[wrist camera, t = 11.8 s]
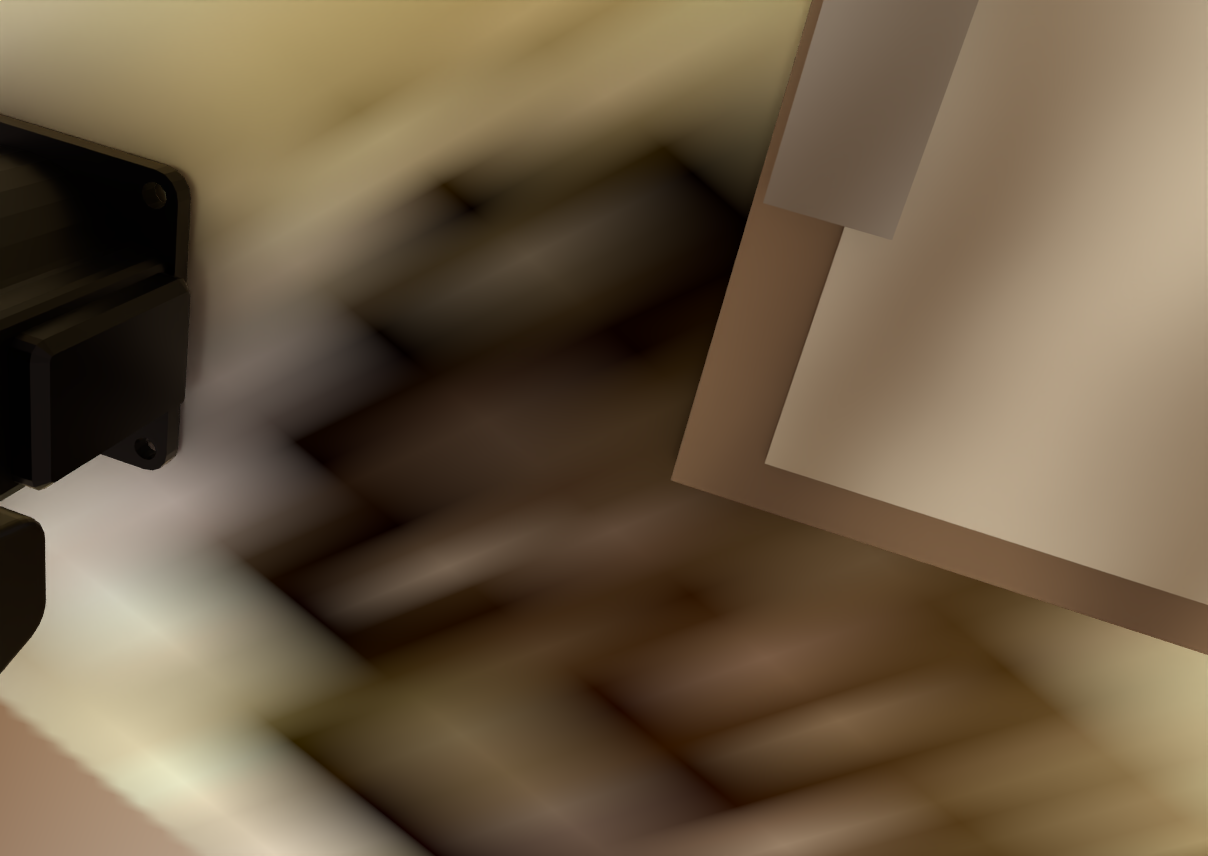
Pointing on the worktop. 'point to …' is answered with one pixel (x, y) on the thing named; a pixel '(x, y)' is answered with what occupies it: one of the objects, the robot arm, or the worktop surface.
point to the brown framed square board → (982, 301)
